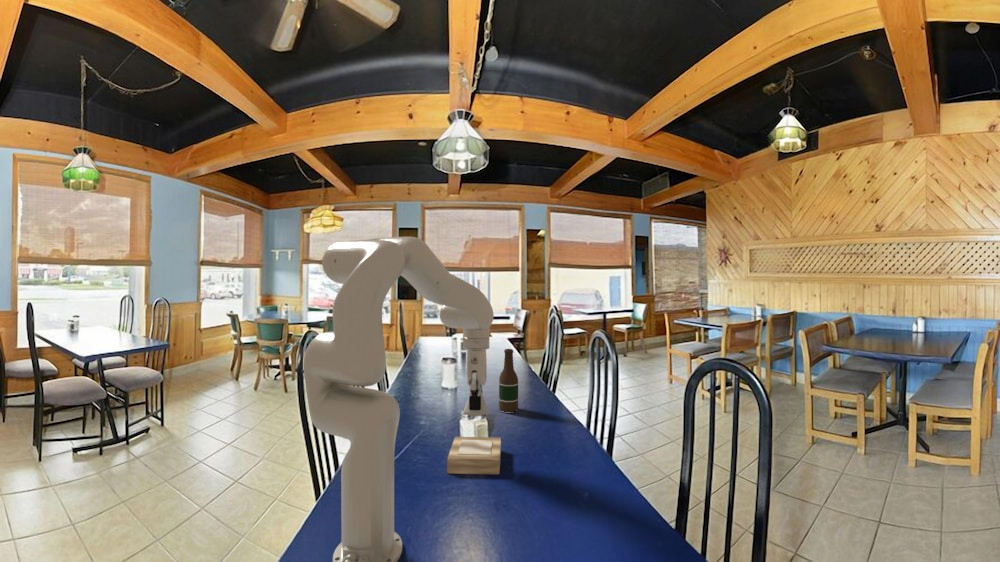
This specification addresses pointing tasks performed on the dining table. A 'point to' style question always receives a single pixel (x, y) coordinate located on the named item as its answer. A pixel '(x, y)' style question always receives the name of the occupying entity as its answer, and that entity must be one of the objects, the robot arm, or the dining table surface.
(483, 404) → the flask
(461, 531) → the dining table surface
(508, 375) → the beer bottle
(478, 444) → the plinth
